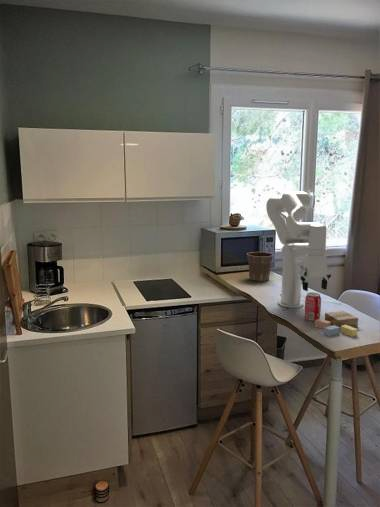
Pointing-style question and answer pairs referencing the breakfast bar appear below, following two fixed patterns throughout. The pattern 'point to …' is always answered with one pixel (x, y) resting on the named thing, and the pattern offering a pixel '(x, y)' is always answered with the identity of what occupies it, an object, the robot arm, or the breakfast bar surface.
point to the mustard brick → (348, 330)
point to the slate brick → (331, 330)
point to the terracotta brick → (322, 323)
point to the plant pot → (259, 265)
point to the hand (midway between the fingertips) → (314, 289)
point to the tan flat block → (341, 319)
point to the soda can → (312, 306)
